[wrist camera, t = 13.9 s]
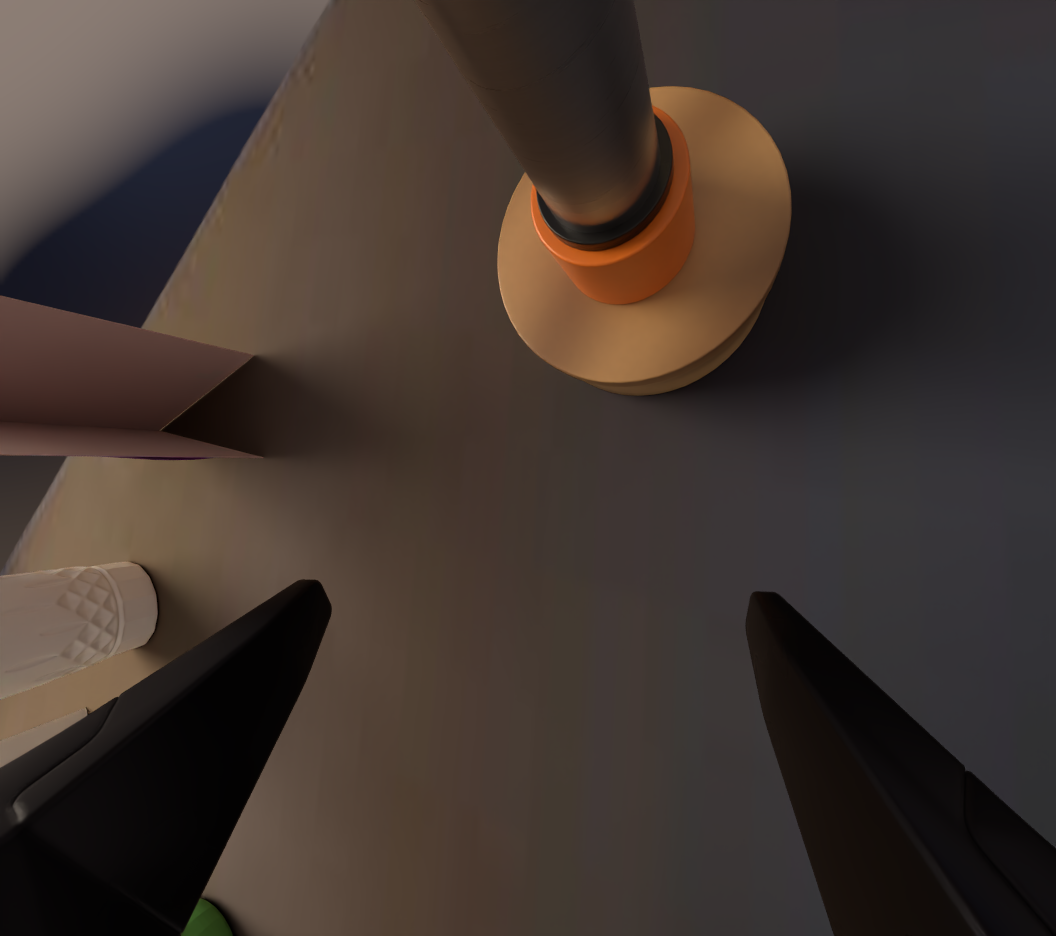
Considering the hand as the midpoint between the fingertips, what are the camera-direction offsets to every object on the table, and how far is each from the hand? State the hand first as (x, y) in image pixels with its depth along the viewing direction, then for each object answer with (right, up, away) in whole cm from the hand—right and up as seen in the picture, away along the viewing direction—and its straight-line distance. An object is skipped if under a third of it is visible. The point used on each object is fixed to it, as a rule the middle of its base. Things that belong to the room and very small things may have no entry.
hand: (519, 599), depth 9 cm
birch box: (+5, +11, +11) cm, 16 cm away
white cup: (-31, -8, +26) cm, 41 cm away
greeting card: (-22, +7, +22) cm, 32 cm away
